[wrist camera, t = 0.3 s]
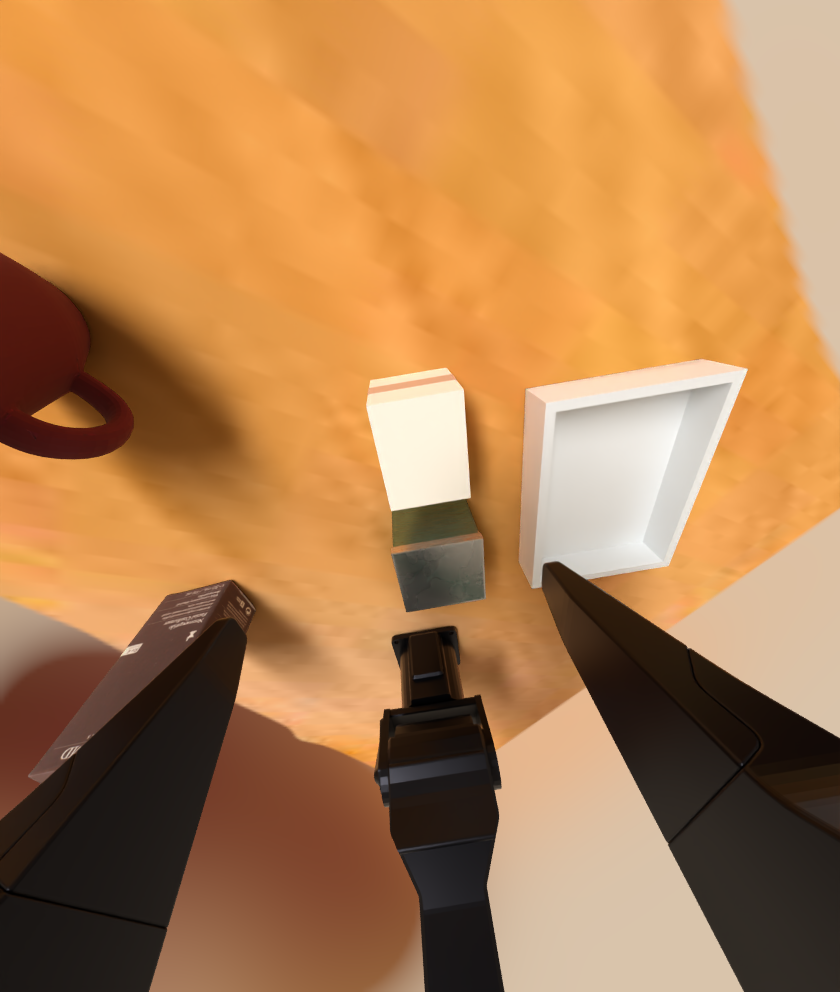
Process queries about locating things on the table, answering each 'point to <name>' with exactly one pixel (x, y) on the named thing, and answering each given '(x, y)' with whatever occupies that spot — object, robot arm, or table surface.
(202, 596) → the box
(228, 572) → the table surface
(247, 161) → the table surface
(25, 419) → the mug
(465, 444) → the carton
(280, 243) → the table surface
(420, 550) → the tin
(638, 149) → the table surface
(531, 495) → the tote
